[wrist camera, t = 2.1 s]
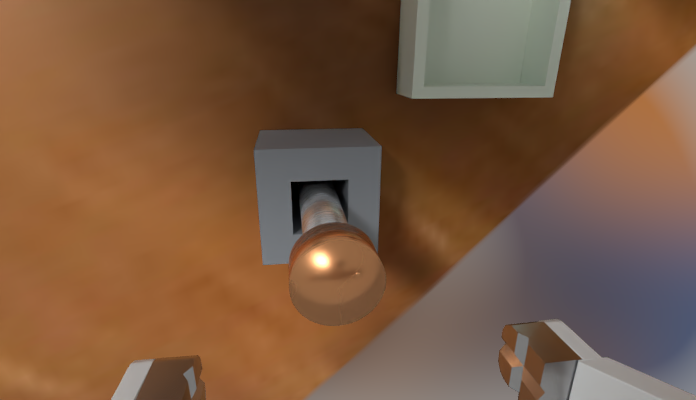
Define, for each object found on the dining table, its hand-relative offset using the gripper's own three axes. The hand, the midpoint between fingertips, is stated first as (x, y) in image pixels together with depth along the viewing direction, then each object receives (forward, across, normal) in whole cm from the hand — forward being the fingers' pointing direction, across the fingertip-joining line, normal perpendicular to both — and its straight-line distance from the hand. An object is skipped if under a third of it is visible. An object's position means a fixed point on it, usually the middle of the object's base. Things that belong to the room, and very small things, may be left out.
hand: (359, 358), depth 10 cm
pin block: (+15, 0, -1) cm, 15 cm away
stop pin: (+15, 0, -1) cm, 15 cm away
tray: (+14, -9, -10) cm, 20 cm away
